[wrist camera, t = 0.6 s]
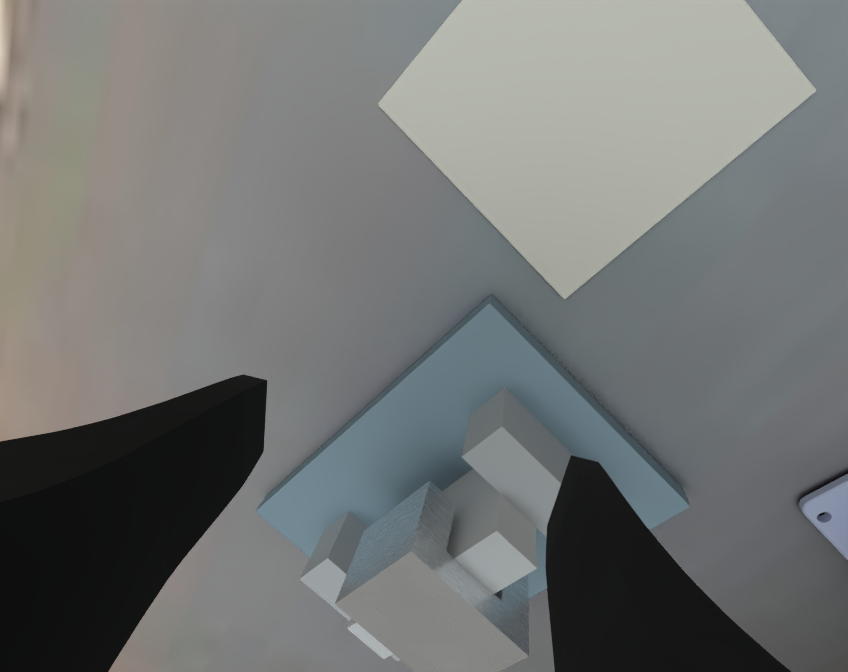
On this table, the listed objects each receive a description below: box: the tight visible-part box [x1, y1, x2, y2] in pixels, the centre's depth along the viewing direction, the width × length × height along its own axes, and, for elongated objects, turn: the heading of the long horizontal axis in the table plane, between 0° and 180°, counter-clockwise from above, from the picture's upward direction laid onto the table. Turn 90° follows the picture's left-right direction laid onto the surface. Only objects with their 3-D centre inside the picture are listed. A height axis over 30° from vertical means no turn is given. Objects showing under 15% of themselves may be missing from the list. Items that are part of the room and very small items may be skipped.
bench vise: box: [255, 294, 691, 662], centre depth 22 cm, size 12×16×6 cm
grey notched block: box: [335, 481, 529, 672], centre depth 19 cm, size 6×4×4 cm
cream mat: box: [378, 0, 817, 299], centre depth 17 cm, size 10×10×1 cm
